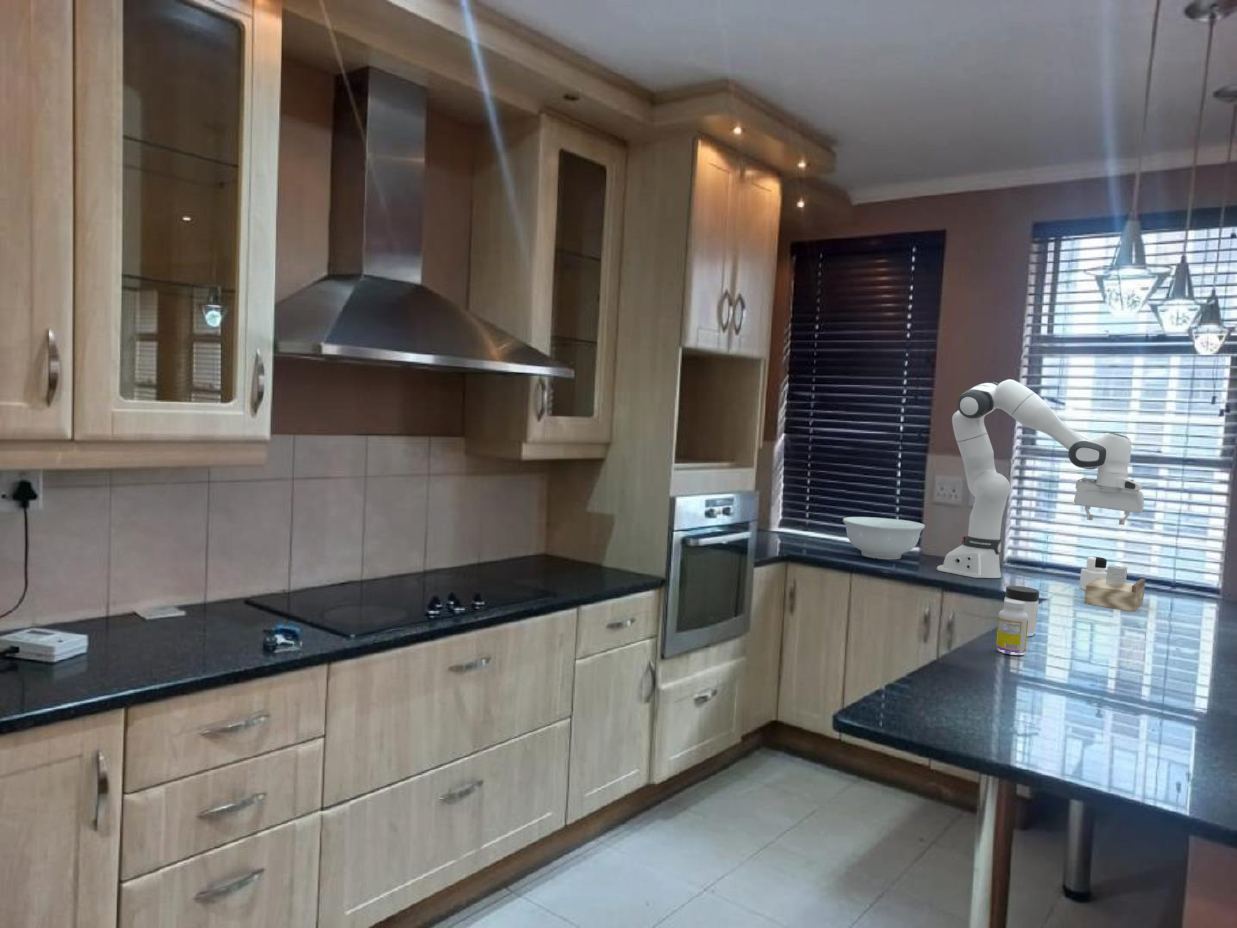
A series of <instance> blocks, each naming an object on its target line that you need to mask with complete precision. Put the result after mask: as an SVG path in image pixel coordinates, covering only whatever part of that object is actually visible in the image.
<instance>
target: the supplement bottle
mask: <svg viewBox="0 0 1237 928" xmlns="http://www.w3.org/2000/svg"><path fill="white" fill-rule="evenodd" d="M1004 606H1005V608H1004ZM1024 608H1025V602H1022V601H1018V600H1009V599H1007V600H1004V601H1003V609H1001V610H1000V611H999V613H998V617H997V629H996V630H997V633H996V640H995V641H996V643H995V644H996V645H995V648H996V647H997V648H999V649H1000V650H1005V651H1008V652H1015V653H1024V652H1025V653H1027V638H1028V636H1027V629H1028V615H1027V614H1026V613H1025V612H1024Z"/></svg>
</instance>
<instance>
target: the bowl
mask: <svg viewBox="0 0 1237 928" xmlns="http://www.w3.org/2000/svg"><path fill="white" fill-rule="evenodd" d="M842 522H843V523H844V525H845V529H846V536H847V539H848V540H849V542H850V544H851V545H852V546H854V547H855V548H857V549H858V550H860V551H861V555H862V556H863V557H866V558H871V559H876V558H877V560H892V561H893V560H900V559H901V558H902V555H903V554H905V553H908V552H910V551H912V550H913V549H914V548H915V547H916V545H918V542H919V539H920V535H921V532H922V530H924V529H925V524H923V523H920V522H917V521H912V520H905V519H898V518H886V517H874V516H873V517H871V516H849V517H844V518H842Z"/></svg>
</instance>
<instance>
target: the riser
mask: <svg viewBox="0 0 1237 928" xmlns="http://www.w3.org/2000/svg"><path fill="white" fill-rule="evenodd" d="M1145 586H1146V578H1140V579H1139V580H1137V582H1135V583H1132V582H1127V581H1126V586H1124V587H1117V586H1111V585H1106V579H1101V578H1096V579H1095V580H1093V581H1092V582H1090V583H1089V584H1087V585H1086V591H1085V590H1084V592H1085V593H1084V602H1083V603H1084V604H1085V603H1088V604H1087V605H1093V606H1097V607H1104V608H1110V609H1116V610H1121V611H1127V612H1133V613H1134V612H1135V611H1136V610H1138V608H1139V607H1140V606H1142V604H1144V595H1145Z"/></svg>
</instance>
